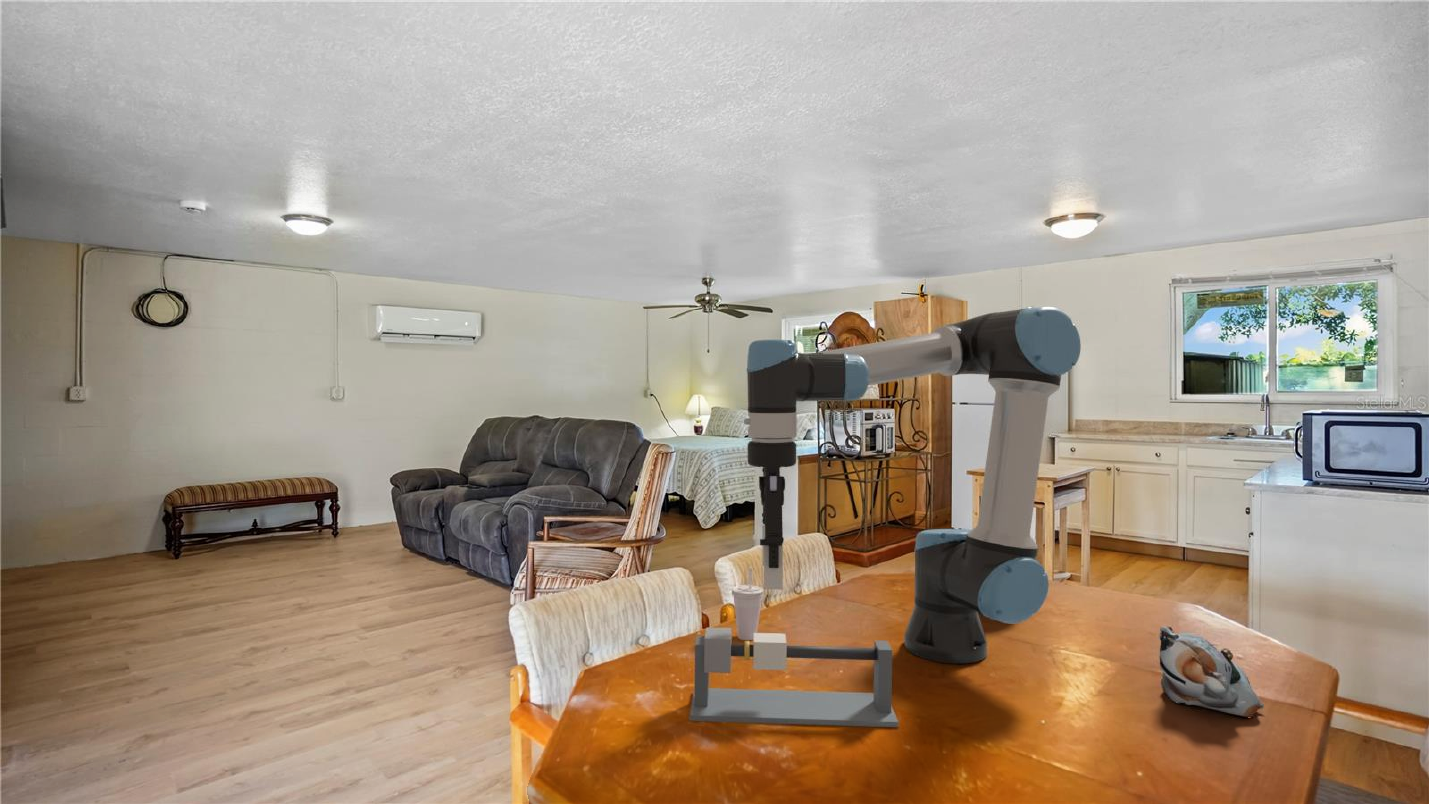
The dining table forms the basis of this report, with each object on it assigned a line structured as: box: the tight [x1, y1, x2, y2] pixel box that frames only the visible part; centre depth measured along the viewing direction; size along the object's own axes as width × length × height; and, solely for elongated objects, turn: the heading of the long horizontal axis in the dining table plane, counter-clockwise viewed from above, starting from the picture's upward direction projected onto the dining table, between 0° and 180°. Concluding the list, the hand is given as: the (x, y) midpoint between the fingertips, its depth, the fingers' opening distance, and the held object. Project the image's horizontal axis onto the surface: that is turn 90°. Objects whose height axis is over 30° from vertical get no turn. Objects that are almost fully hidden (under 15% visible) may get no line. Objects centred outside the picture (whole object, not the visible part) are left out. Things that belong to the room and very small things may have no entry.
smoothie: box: [731, 566, 764, 641], centre depth 146 cm, size 6×6×14 cm
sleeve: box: [752, 632, 788, 671], centre depth 113 cm, size 5×4×4 cm
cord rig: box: [689, 626, 900, 728], centre depth 113 cm, size 31×10×12 cm, turn 87°
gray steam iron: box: [1159, 625, 1265, 719], centre depth 116 cm, size 15×12×14 cm
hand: (771, 576), depth 113 cm, fingers open, 13 cm apart
